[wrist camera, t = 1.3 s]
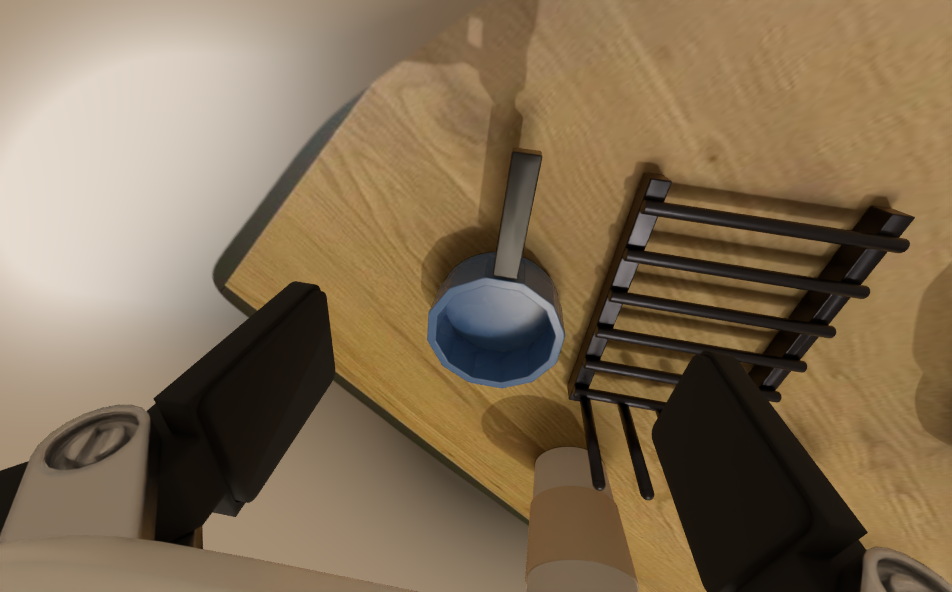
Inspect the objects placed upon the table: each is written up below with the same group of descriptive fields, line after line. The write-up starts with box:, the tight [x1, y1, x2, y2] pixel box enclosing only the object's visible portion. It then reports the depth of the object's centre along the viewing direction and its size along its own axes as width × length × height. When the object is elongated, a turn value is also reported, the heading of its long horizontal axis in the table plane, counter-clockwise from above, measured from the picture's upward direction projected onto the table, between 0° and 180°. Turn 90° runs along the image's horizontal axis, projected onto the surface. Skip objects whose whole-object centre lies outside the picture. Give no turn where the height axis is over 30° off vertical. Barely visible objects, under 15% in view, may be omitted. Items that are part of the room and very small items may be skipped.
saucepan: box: [427, 148, 565, 388], centre depth 23 cm, size 16×9×4 cm, turn 174°
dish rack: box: [567, 173, 915, 500], centre depth 21 cm, size 18×14×9 cm
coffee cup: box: [525, 447, 639, 592], centre depth 30 cm, size 9×9×15 cm
